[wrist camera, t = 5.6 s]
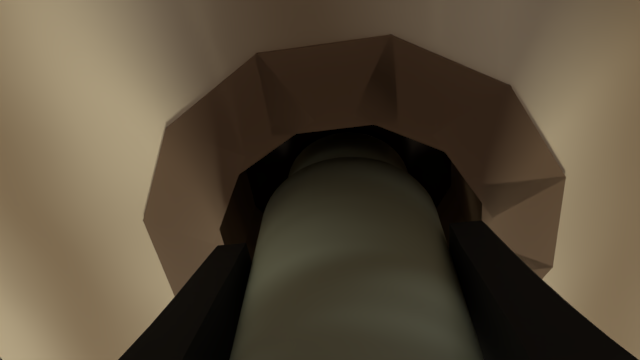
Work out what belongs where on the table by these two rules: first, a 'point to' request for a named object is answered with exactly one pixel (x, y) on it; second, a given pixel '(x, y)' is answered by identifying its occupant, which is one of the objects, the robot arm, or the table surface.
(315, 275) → the green peg
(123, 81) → the socket board
